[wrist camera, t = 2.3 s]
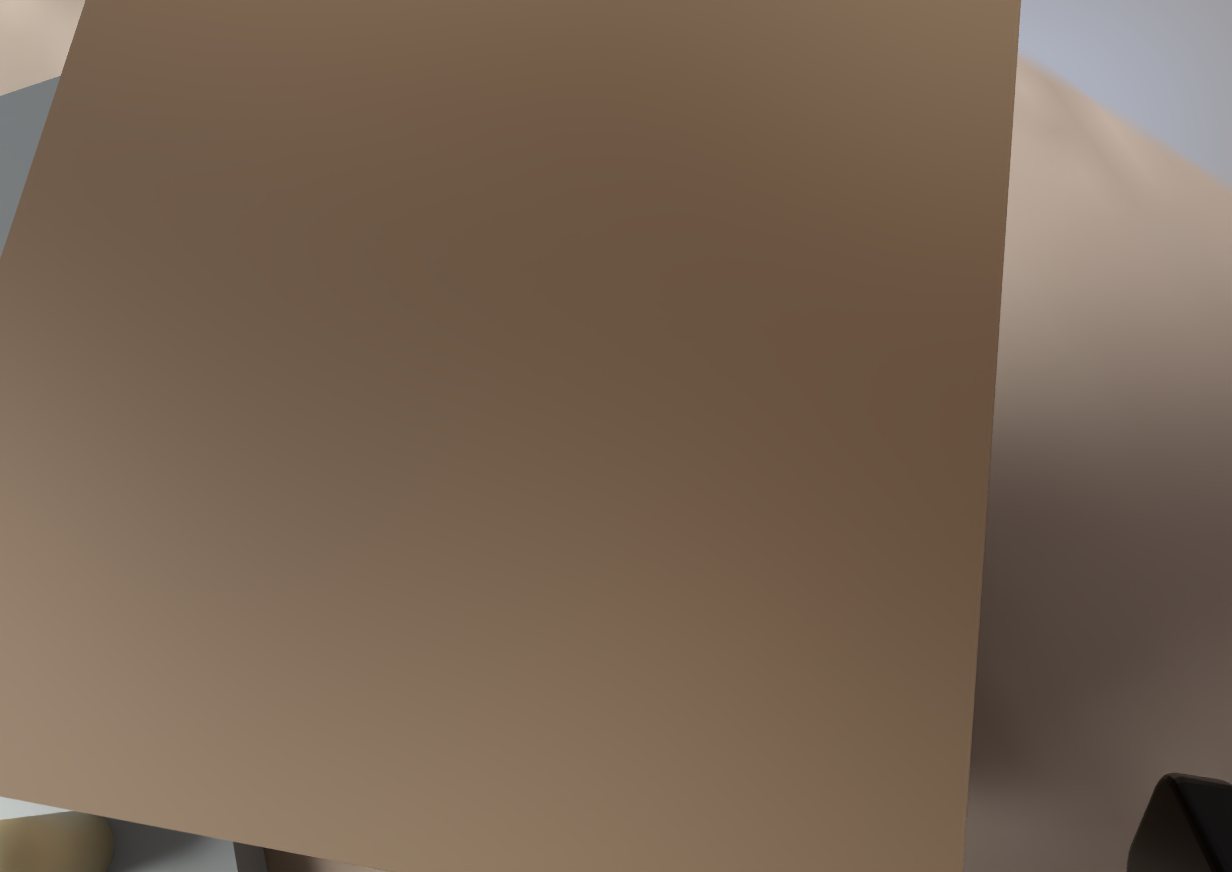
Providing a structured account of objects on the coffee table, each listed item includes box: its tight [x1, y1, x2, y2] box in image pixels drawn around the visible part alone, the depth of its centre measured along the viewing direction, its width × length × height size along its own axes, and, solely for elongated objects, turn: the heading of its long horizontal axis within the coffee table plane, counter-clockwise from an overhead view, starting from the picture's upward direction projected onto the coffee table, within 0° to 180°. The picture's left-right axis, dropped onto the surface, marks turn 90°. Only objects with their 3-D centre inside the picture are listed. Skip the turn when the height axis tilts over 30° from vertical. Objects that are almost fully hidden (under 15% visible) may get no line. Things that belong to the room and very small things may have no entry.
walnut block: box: [0, 0, 1021, 872], centre depth 11 cm, size 5×5×13 cm
